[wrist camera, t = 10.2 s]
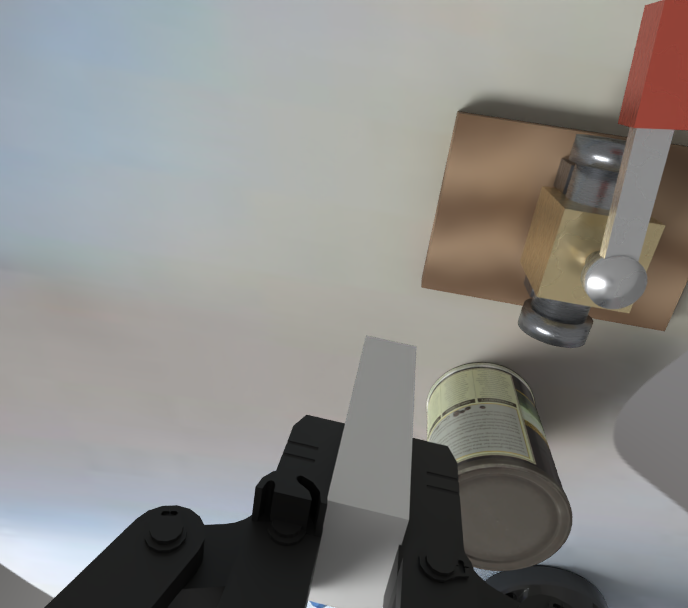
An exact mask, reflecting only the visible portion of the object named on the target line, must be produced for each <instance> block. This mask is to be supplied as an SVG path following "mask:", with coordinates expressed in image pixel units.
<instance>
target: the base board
mask: <svg viewBox="0 0 688 608" xmlns="http://www.w3.org/2000/svg"><path fill="white" fill-rule="evenodd" d="M576 134H586V135H594V136H601V137H608V138H614V139H620V140H625V141H627V137H622V136H616V135H609V134H603V133H596V132H590V131H583V130H577V129H570V128H564V127H557V126H551V125H544V124H538V123H531V122H524V121H518V120H511V119H505V118H498V117H492V116H485V115H479V114H472V113H466V112H459V111H458V112H457V116H456V121H455V126H454V130H453V135H452V140H451V144H450V149H449V154H448V158H447V163H446V168H445V172H444V177H443V182H442V186H441V191H440V196H439V200H438V205H437V210H436V214H435V219H434V224H433V228H432V233H431V238H430V243H429V247H428V252H427V257H426V261H425V266H424V271H423V275H422V288H427V289H433V290H439V291H444V292H450V293H455V294H461V295H466V296H472V297H477V298H483V299H489V300H494V301H500V302H505V303H511V304H516V305H522V306H523V304H524V301H525V300H527V299H529V298H532V297H530V296H529V294H528V292H527V290H526V287H525V285H524V283H523V282H524V279H525V276H526V274H525V272H524V269H523V267H522V265H521V263H520V259H521V256H522V253H523V249H524V246H525V243H526V239H527V236H528V233H529V229H530V226H531V222H532V219H533V216H534V212H535V209H536V206H537V202H538V199H539V195H540V192H541V189H542V186H546V187H552V188H555V187H554V186H553V184H554V181H555V178H556V174H557V171H558V168H559V165H560V161H561V158H562V159H568V160H569V156H570V153H571V150H572V146H573V143H574V140H575V137H576ZM651 216H652V217H653V218H655V219H656V220H658V221H659V222H661V223H663V224H664V225H665V228H664V230H663V233H662V235H661V238H660V240H659V242H658V245H657V247H656V250H655V252H654V255H653V257H652V259H651V262H650V264H649V267H648V269H647V272H646V273H647V286H646V289H645V291H644V293H643V294H642V296H641V297H640V298H639V299H638V300H637V301H636V302H634V303H633V306H632V308H631V310H630V313H624V312H618V311H613V310H607V309H601V308H596V307H591V308H590V311H589V313H588V315H589V316H590V317H591V318H594V319H600V320H605V321H611V322H616V323H622V324H627V325H633V326H638V327H644V328H649V329H655V330H661V331H665V329H666V327H667V325H668V323H669V321H670V318H671V316H672V314H673V312H674V310H675V307H676V305H677V303H678V301H679V298H680V296H681V294H682V292H683V290H684V287H685V285H686V283H687V281H688V146H681V145H675V144H670V148H669V152H668V155H667V159H666V163H665V166H664V170H663V174H662V177H661V181H660V184H659V188H658V192H657V195H656V199H655V203H654V206H653V210H652V214H651Z"/></svg>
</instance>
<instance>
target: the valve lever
mask: <svg viewBox="0 0 688 608" xmlns="http://www.w3.org/2000/svg"><path fill="white" fill-rule="evenodd" d="M618 124H621V125H625V126H628V127H630V128H629V132H628V137H627V141H626V145H625V149H624V153H623V157H622V162H621V166H620V170H619V174H618V178H617V183H616V187H615V191H614V195H613V199H612V203H611V208H610V212H609V216H608V220H607V224H606V228H605V233H604V237H603V241H602V245H601V249H600V253H597V254H596V255H594V256H593V257H591V258H590V259H589V260H588V261H587V262H586V264H585V265H584V267H583V269H582V272H581V284H582V287H583V289H584V290H585V292H586V293H587V294H588V296H589V297H590V299H591V300H592V301H593V302H594V303H595V304H596V305H598V306H600V307H602V308H606V309H620V308H624V307H627V306H629V305H631V304H633V303H634V302H636V301H637V300H638V299H639V298H640V297H641V296H642V294H643V293H644V291H645V289H646V286H647V273H646V271H645V269H644V267H643V266H642V265H641V264H640V263H639V262H638V261H639V257H640V254H641V250H642V246H643V243H644V239H645V236H646V232H647V228H648V225H649V221H650V217H651V214H652V210H653V206H654V203H655V199H656V195H657V192H658V188H659V184H660V181H661V177H662V174H663V170H664V166H665V163H666V159H667V155H668V152H669V148H670V144H671V141H672V137H673V133H674V130H688V0H662V1H659V2H655V3H652V4H649V5H645V8H644V12H643V17H642V21H641V25H640V30H639V34H638V38H637V43H636V47H635V51H634V56H633V60H632V64H631V69H630V73H629V77H628V82H627V86H626V90H625V95H624V99H623V103H622V108H621V112H620V116H619V121H618Z"/></svg>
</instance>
